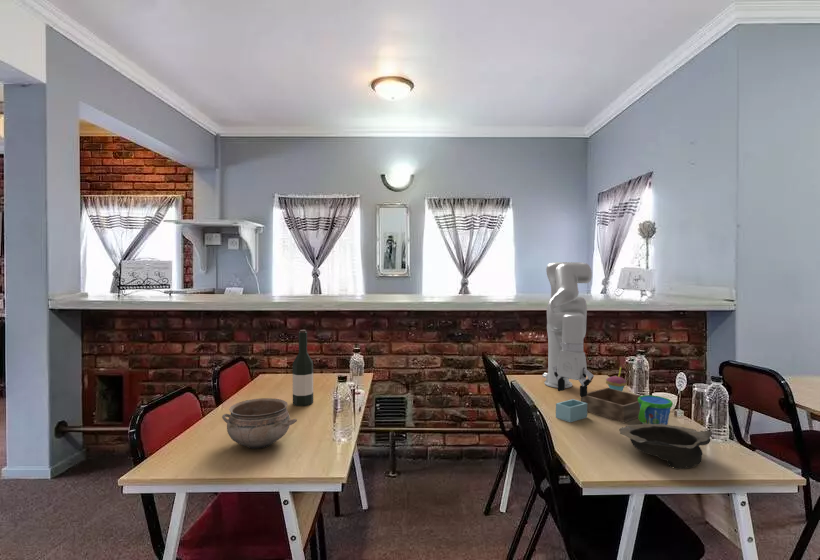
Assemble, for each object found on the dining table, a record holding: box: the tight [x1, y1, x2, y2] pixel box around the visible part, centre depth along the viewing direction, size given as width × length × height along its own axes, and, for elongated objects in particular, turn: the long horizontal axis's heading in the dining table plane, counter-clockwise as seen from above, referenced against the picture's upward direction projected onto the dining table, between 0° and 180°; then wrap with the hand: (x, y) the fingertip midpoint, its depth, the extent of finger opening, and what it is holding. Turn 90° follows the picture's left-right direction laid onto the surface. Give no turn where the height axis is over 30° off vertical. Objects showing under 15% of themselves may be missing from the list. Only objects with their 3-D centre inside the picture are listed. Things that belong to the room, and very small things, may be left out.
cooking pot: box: [221, 397, 298, 450], centre depth 144 cm, size 25×19×12 cm
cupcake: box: [605, 366, 627, 392], centre depth 206 cm, size 9×8×12 cm
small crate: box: [555, 398, 588, 423], centre depth 171 cm, size 6×10×6 cm, turn 124°
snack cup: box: [637, 394, 674, 425], centre depth 160 cm, size 16×10×10 cm
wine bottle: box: [292, 329, 314, 407], centre depth 187 cm, size 8×8×30 cm
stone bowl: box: [618, 423, 713, 469], centre depth 137 cm, size 25×25×9 cm
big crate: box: [580, 387, 641, 423], centre depth 178 cm, size 18×18×6 cm
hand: (572, 393), depth 171 cm, fingers open, 9 cm apart
